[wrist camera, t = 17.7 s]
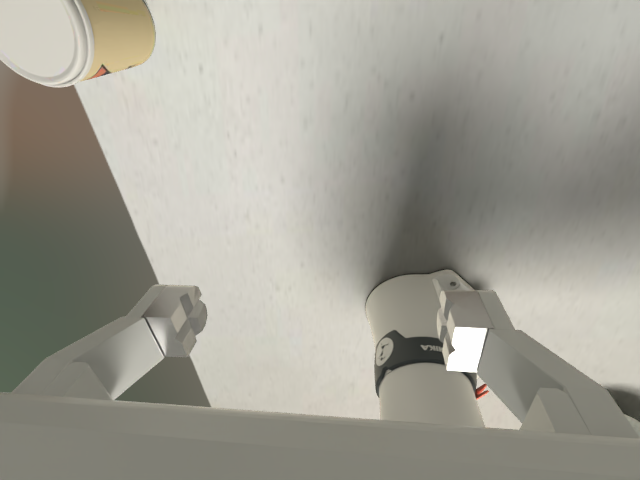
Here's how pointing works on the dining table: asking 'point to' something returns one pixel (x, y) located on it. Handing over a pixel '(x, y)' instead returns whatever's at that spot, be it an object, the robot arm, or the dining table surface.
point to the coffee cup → (74, 38)
